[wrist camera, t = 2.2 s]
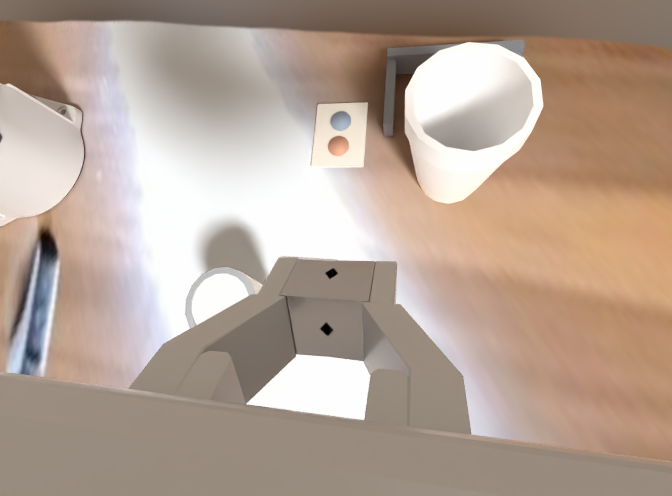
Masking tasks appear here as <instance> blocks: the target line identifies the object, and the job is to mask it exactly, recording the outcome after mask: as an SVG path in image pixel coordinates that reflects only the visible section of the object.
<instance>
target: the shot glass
mask: <svg viewBox="0 0 672 496" xmlns="http://www.w3.org/2000/svg"><path fill="white" fill-rule="evenodd" d="M262 286H263V285H262V284H260V283H259V282H257V281H256V280H254V279H252V278H251V277H249V276H248V275H246V274H244V273H243V272H241V271H239V270H236V269H233V268H230V267H220V268H213V269H211V270H210V271H208V272H206V273H204V274H202V275H201V276H200V277H199V278H198V279H197V280H196V281H195V283H194V284H193V285H192V286H191V289H190V291H189V294H188V296H187V298H186V311H185V315H186V318H187V321H188V324H189V327H190V329H191V328H193V327H194V326H196V325H198V324H200V323H201V322H203V321H205V320H207V319H208V318H210V317H212V316H214V315H216V314H217V313H219V312H221V311H223V310H224V309H226V308H228V307H230V306H232V305H233V304H235V303H237V302H239V301H240V300H242V299H244V298H246V297H247V296H249V295H251V294H258V293H259V291H260V289H261V287H262Z"/></svg>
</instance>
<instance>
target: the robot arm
mask: <svg viewBox="0 0 672 496" xmlns="http://www.w3.org/2000/svg"><path fill="white" fill-rule="evenodd" d="M81 123H82V112H81V111H80V110H79V109H77V108H75V107H73V106H71V105H67V104H63V103H60V102H56V101H52V100H49V99H45V98H41V97H38V96H34V95H31V94H27V93H25V92H23V91H21V90H20V89H18V88H17V87H15V86H13V85H11V84H9V83H7V84H5V85H4V84H2V83H0V226H3V225H5V224H7V223H9V222H11V221H13V220H14V219H17V218H21V217H30V216H35V215H38V214H41V213H43V212H45V211H47V210H49V209H50V208H52V207H53V206H55V205H56V204H57V203H59V202H60V201H61V200H62V199H63V198H64V197H65V196H66V195H67V193H68V192H69V191H70V190H71V188H72V187H73V185H74V184H75V182H76V180H77V178H78V176H79V174H80V171H81V168H82V164H83V159H84V145H83V140H82V136H81V131H80V129H81ZM396 280H397V263H396V262H394V261H376V262H375V261H341V260H332V259H318V258H304V257H300V258H299V257H285V256H282V257H280V258H278V260H277V261H276V263H275V265H274V267H273V268H272V270H271V272H270V274H269V275H268V277H267V279H266V280H265V282H264V284H263V286H262V287H261V289H260V291H259V293H258V294H251V295H249V296H247V297H246V298H244V299H242V300H240V301H239V302H237V303H235V304H233V305H232V306H230V307H228V308H226V309H224V310H223V311H221V312H219V313H217V314H216V315H214V316H212V317H210V318H208V319H207V320H205V321H203V322H201V323H200V324H198V325H196V326H194V327H193V328H191V329H189V330H187V331H185V332H184V333H182V334H180V335H178V336H177V337H175V338H173V339H171V340H170V341H168V342H166V343H164V344H163V345H162V346H161V348H160V349H159V350H158V351H157V353H156V354H155V355H154V357H153V358H152V359H151V360H150V362H149V363H148V364H147V366H146V367H145V368H144V369H143V371H142V372H141V373H140V374H139V376H138V377H137V378H136V380H135V381H134V382H133V383H132V385H131V386H130V387H129V388H128V389H127V388H119V387H112V386H104V385H97V384H89V383H82V382H74V381H67V380H59V379H52V378H44V377H37V376H29V375H22V374H14V373H7V372H0V496H672V461H665V460H657V459H650V458H642V457H635V456H627V455H620V454H612V453H605V452H597V451H590V450H582V449H575V448H567V447H560V446H552V445H545V444H538V443H530V442H523V441H515V440H508V439H500V438H493V437H485V436H478V435H471V428H470V421H469V414H468V407H467V400H466V393H465V386H464V379H463V375H462V374H461V373H460V372H459V371H458V370H457V369H456V367H455V366H454V365H453V364H452V363H451V362H450V361H449V359H448V358H447V357H446V356H445V355H444V354H443V353H442V351H441V350H440V349H439V348H438V347H437V346H436V344H435V343H434V342H433V341H432V340H431V339H430V338H429V336H428V335H427V334H426V333H425V332H424V331H423V330H422V328H421V327H420V326H419V325H418V324H417V323H416V322H415V320H414V319H413V318H412V317H411V316H410V315H409V314H408V312H407V311H406V310H405V309H404V308H403V307H402V306H401V305H400V304H396ZM296 354H300V355H314V356H328V357H336V358H344V359H352V360H359V361H364V364H365V366H366V368H367V370H368V372H369V374H370V376H371V377H370V384H369V391H368V398H367V405H366V412H365V420H358V419H351V418H343V417H336V416H329V415H321V414H314V413H306V412H299V411H291V410H284V409H276V408H269V407H261V406H254V405H246V403H247V402H248V401H249V400H250V399H251V398H252V397H254V396H255V395H256V394H257V393H258V392H259V391H260V390H261V389H262V388H263V387H264V386H265V385H266V384H267V383H268V382H269V381H270V380H271V379H272V378H274V377H275V376H276V375H277V374H278V373H279V372H280V371H281V370H282V369H283V368H284V367H285V366H286V365H287V364H288V363H289V362H290V361H291V360H292V359H293V358H295V357H296Z"/></svg>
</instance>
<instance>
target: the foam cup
mask: <svg viewBox="0 0 672 496" xmlns="http://www.w3.org/2000/svg"><path fill="white" fill-rule="evenodd" d="M542 108H543V100H542V91H541V81H540V79H539V77H538V76H537V75H536V73H535V72H534V71H533V69H532V68H531V67H530V65H529V64H528V63H527V61H526V60H525V59H524V58H523V57H521V56H519V55H517V54H516V53H514V52H512V51H510V50H508V49H506V48H504V47H502V46H500V45H497V44H484V43H472V42H467V43H464V44H460V45H457V46H453V47H450V48H446V49H443V50H440V51H438V52H437V53H436V54H434V55H433V56H432V57H430V58H429V59H428V60H427V61H425V62H424V63H423V64H421V65H420V66H419V67H417V69H416V71H415V73H414V75H413V77H412V79H411V81H410V82H409V84H408V86H407V88H406V90H405V134H406V136H407V138H408V140H409V143H410V148H411V152H412V157H413V162H414V167H415V171H416V176H417V181H418V183H419V185H420V187H421V189H422V191H423V192H424V194H426V195H427V196H428V197H430V198H431V199H433V200H434V201H438V202H443V203H453V202H457V201H461V200H463V199H465V198H466V197H467V196H468V195H470V194H471V193H472V192H473V191H475V190H476V189H477V188H478V187H479V186H480V185H481V184H482V183H483V182H484V181H485V180H486V179H487V178H488V177H489V176H490V175H491V174H492V173H493V172H494V171H495V170H496V169H497V168H498V167H499V166H500V165H501V164H502V163H503V162H504V161H506V160H507V159H508V158H509V157H511V156H512V155H513V154H515V153H516V152H517V151H519V150H520V148H521V147H522V145H523V144H524V142H525V141H526V139H527V138H528V136H529V135H530V133H531V132H532V129H533V127H534V125H535V123H536V121H537V119H538V117H539V114H540V112H541V110H542Z"/></svg>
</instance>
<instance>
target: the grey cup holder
mask: <svg viewBox="0 0 672 496" xmlns="http://www.w3.org/2000/svg"><path fill="white" fill-rule="evenodd" d="M480 43H484V44H497V45H500V46H502V47H504V48H506V49H508V50H510V51H512V52H514V53H516V54H517V55H519V56H521V57H523V50H524V48H525V46H524V40H513V41H496V42H480ZM457 45H460V44H448V45H432V46H416V47H400V48H387V68H386V84H385V101H384V117H383V129H384V136H393V127H394V109H395V90H396V75H399V74H414V73H415V71H416V69H417V67H419V66H420V65H421V64H423V63H424V62H425V61H427V60H428V59H429V58H430V57H432V56H433V55H434V54H436V53H437V52H438V51H440V50H443V49H446V48H450V47H453V46H457Z"/></svg>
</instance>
